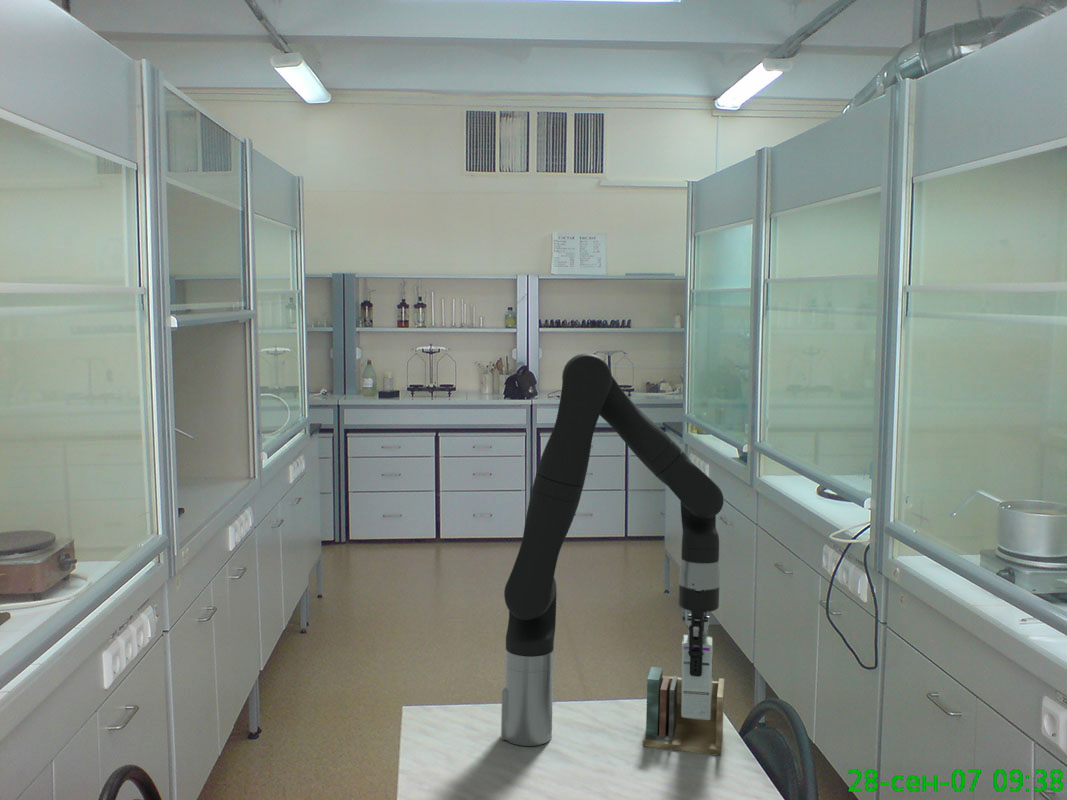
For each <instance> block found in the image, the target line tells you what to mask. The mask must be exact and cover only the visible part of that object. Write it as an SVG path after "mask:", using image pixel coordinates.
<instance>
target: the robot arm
mask: <svg viewBox="0 0 1067 800" xmlns="http://www.w3.org/2000/svg"><path fill="white" fill-rule="evenodd" d="M561 379H562V380H561V381H562V384H561V390H560V391H561V393H560V399H559V404H558V409H557V415H556V419H555V420H556V421H555V423H554V426H553V429H552V431H551V434H550V435H549V438H548V440H547V442H546V444H545V447H544V450H543V452H542V455H541V457H540V461H539V463H538V466H537V470H536V473H535V477H534V481H533V484H532V488H531V491H530V492H531V494H530V497H529V503H528V506H527V511H526V517H525V523H524V527H523V528H524V529H523V535H522V539H521V543H520V547H519V550H518V553H517V556H516V558H515V561H514V564H513V566H512V569H511V572H510V574H509V577H508V579H507V581H506V584H505V586H504V592H503V594H504V596H503V597H504V602H505V605H506V608H507V609H508V611H509V612H508V623H507V630H506V634H505V635H506V636H505V666H504V667H505V669H504V670H505V672H504V674H505V675H504V688H503V689H502V690H501V721H500V723H501V724H500V725H501V726H500V730H501V733H500V734H501V735H500V740H502V741H504V740H505V741H507V742H509V743H511V744H514V745H517V746H524V747H534V746H541V745H543V744H546V743H548V742H549V741H550V740H551V739H552V738H553V737H552V735H553V691H554V689H553V687H554V686H553V685H554V643H555V634H556V625H557V624H556V622H557V621H556V619H557V618H556V617H557V582H556V578H555V572H556V568H557V563H558V557H559V556H560V552H561V548H562V546H563V544H564V542H565V539H566V536H567V534H568V532H569V531H570V528H571V525H572V523H573V522H574V521H573V520H574V519H575V515H576V512H577V509H578V506H579V503H580V500H581V496H582V493H583V489H584V485H585V482H586V481H585V480H586V477H587V471H588V467H589V463H590V462H589V461H590V456H591V450H592V443H593V438H594V437H593V436H594V432H595V429H596V425H597V422H598V420H599V417H601V418H602V419H603V420H604V421H605V422H606V423H608V425H609V426H610V427H611V428H613V430H614V431H615V432H616V434H618V436H619V437H620V438H621V439H622V441H624V443H625V444H626V445H627V447H628V448H629V449H630V450H631V451H632V453H633V454H634V455H635V456H636V457H637V458H638V460H639V461H640V462H641V463H642V464H644V466H645V467H646V468H647V469H648V470H649V471H650V472H651V473H652V474H653V475H654V476H655V477H656V478H657V479H658V480H660V481H661V482H662V483H663V484H665V485H666V486H667V487H668V488H669V489H670V490H671V492H672V493H673V494H674V495H675V496H676V497H677V499H679V502H680V517H681V519H680V520H681V526H682V528H681V529H682V539H681V557H680V558H681V560H680V566H679V578H678V579H679V580H678V581H679V583H678V605H679V607H680V608H681V609H683V610H686V611H690V612H691V614H687V619H686V621H687V622H686V627H687V635H688V643H689V651H688V654H689V656H690V675H691V676H698V677H700V676H701V675H702V657H703V655H704V653H703V645H705V644H706V637H707V636H708V634H709V633H708V632H709V631H708V629H709V625H710V616H709V615H707V613H708V612H709V613H711V612H714V611H717V610H718V609H719V607H720V577H721V576H720V574H721V573H720V561H719V560H720V537H719V533H718V531H717V526H716V525H717V524H716V523H717V521H716V518H717V515H718V514H719V513H720V512H721V511H722V509H723V506H724V495H723V492H722V490H721V488H720V486H718V485H717V484H716V483H715V481H714V480H712V478H710V477H709V476H708V475H707V474H706V473H705V472H704V471H702V469H700V468H699V467H698V466H697V465H696V464H694V463H693V461H692V460H691V459H690V458H689V457H688V456H687V454H686V453H685V451H684V450H683V449H682V448H681V447H680V446H679V445H678V444H677V443H676V441H674V440H673V439H672V438H671V437H670V435H668V434H667V433H666V432H665V431H664V430H663V429H662V428H661V427H660V426H659V425H658V424H656V423H655V422H654V421H653V420H652V419H651V418H650V417H649V416H647V414H646V413H644V411H642V410H641V409H640V407H638V406H637V405H636V404H635V403H634V402H633V401H632V400H631V399H630V397H629V396H628V395H627V394H626V393H625V392H624V390H623V389H622V388H621V387H620V385H619V384H618V382H617V380H616V379H615V378H614V376H613V374H612V370H611V368H610V366H609V364H608V363H607V362H606V361H605V360H604V359H603V358H601V357H600V356H598V355H596V354H593V353H588V352H587V353H579V354H577V355H574V356H573V357H572V358H571V359H568V361H567V363H566V364H565V365H564V368H563V371H562V378H561ZM693 645H699V646H700V650H695V649H693Z"/></svg>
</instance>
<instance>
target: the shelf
mask: <svg viewBox="0 0 1067 800" xmlns="http://www.w3.org/2000/svg"><path fill="white" fill-rule="evenodd" d="M663 669H664V668H663V667H656V666H651V667H650V670H649V673H648V676H647V677H646V678H647V681H646V712H645V713H646V715H645V716H646V718H645V719H646V722H645V733H644V735H643V740H642V747H648V748H655V749H656V748H657V749H665V750H671V749H672V750H674V751H680V750H681V752H688V751H690V752H689V753H696V752H698V754H705V753H706V755H713V754H717V755H716V756H721V755H722V747H723V746H722V745H723V737H724V736H723V735H724V734H723V733H724V707H725V705H724V704H725V678H720V677H719V679H718V681H716V680H713V682H712V715H711V720H702V719H691V718H684V717H681V678H682V677H679V676H678V675H673V676H668V675H663ZM672 750H671V751H672Z"/></svg>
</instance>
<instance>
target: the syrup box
mask: <svg viewBox="0 0 1067 800" xmlns="http://www.w3.org/2000/svg"><path fill="white" fill-rule="evenodd" d="M693 649H695V650H700V646H699V645H693ZM688 651H689V643H688V634H683V638H682V641H681V677H680V678H681V717H684V718H691V719H702V720H711V715H712V682H713V681H714V680H713V679H714V678H713V673H714V672H713V663H714V662H713V637H712V636H709V635H707V637H706V644H705V645H703V653H704V655H703V657H702V675H701V676H700V677H698V676H691V675H690V656H689V654H688Z"/></svg>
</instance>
